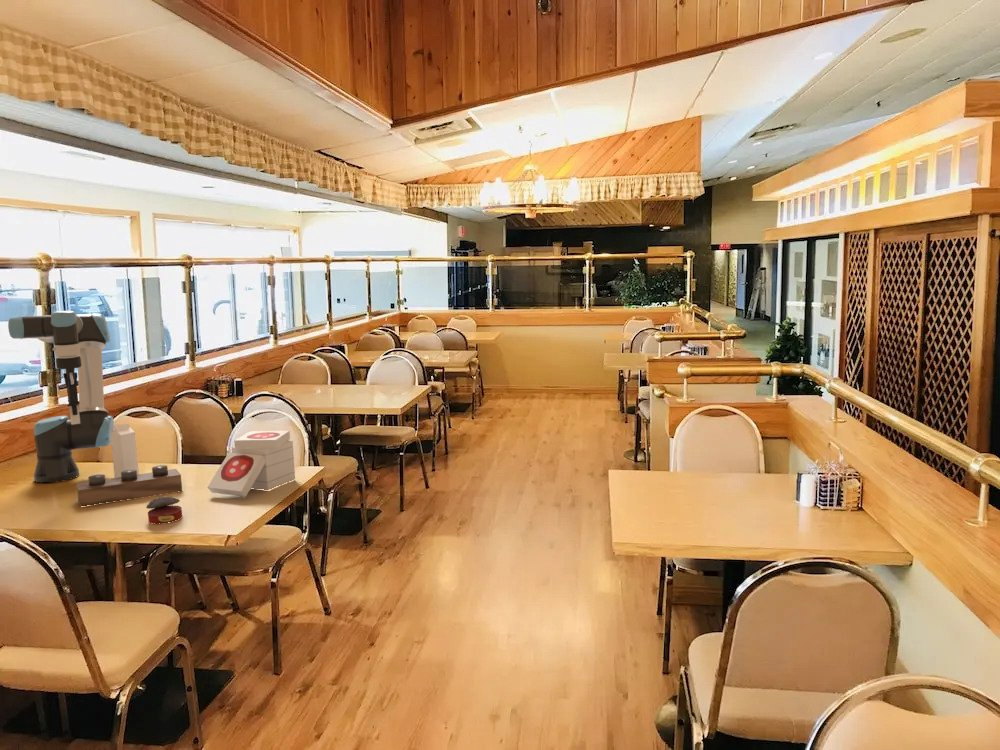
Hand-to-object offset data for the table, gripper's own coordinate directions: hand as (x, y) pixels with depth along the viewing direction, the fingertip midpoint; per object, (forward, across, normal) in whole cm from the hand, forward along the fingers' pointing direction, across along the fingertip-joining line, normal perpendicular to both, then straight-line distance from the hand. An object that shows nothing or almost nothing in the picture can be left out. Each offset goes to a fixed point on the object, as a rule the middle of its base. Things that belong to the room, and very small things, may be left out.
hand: (75, 423), depth 273 cm
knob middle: (+23, +12, +14) cm, 30 cm away
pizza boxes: (+25, +31, +52) cm, 65 cm away
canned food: (+25, +48, +19) cm, 57 cm away
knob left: (+23, +12, +4) cm, 27 cm away
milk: (+26, -8, +15) cm, 31 cm away
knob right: (+23, +13, +24) cm, 36 cm away
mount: (+25, +12, +14) cm, 31 cm away
